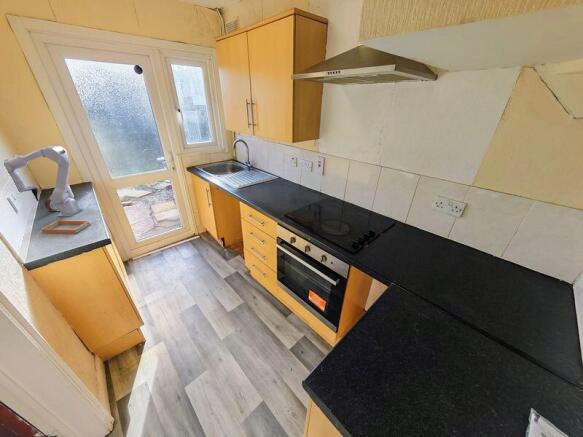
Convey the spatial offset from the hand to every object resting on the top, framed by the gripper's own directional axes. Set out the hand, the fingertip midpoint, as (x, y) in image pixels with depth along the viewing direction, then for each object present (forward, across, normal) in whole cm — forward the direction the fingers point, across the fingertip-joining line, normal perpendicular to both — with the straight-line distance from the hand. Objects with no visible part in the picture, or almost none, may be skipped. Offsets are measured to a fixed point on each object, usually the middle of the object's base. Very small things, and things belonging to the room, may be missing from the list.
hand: (29, 202), depth 140 cm
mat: (+10, +11, +6) cm, 17 cm away
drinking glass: (+11, +19, +24) cm, 33 cm away
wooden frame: (+10, +9, -31) cm, 34 cm away
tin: (+10, +12, +6) cm, 17 cm away
